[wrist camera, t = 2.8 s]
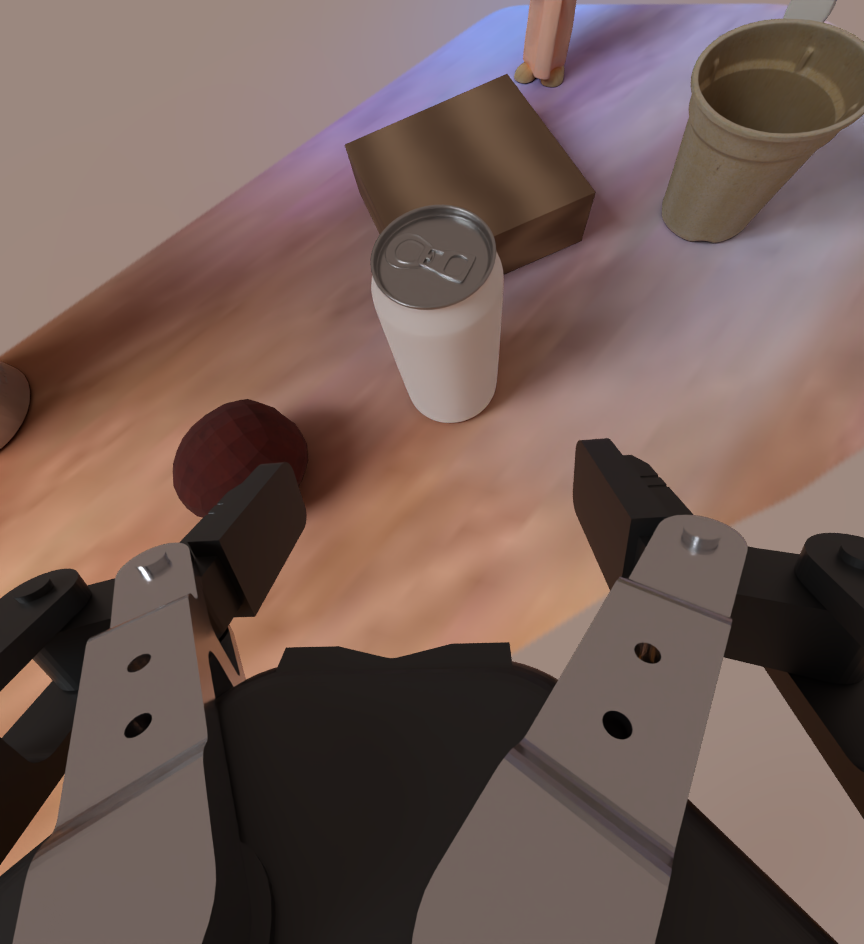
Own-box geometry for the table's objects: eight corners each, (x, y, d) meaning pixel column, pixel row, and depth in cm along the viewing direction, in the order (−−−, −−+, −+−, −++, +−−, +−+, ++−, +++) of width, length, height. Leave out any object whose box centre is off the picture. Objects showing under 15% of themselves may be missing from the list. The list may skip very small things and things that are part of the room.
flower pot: (615, 234, 31) (663, 106, 22) (670, 151, 32) (735, 2, 24) (737, 282, 28) (843, 158, 20) (791, 189, 30) (910, 39, 22)
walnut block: (417, 311, 31) (408, 273, 27) (359, 192, 35) (344, 144, 31) (581, 240, 31) (595, 192, 27) (504, 129, 35) (507, 73, 31)
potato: (197, 482, 29) (113, 452, 23) (284, 407, 30) (227, 356, 23) (250, 555, 27) (175, 546, 21) (342, 473, 28) (298, 438, 21)
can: (432, 334, 30) (401, 182, 19) (511, 362, 29) (530, 216, 17) (393, 405, 29) (335, 290, 18) (473, 439, 28) (467, 336, 16)
